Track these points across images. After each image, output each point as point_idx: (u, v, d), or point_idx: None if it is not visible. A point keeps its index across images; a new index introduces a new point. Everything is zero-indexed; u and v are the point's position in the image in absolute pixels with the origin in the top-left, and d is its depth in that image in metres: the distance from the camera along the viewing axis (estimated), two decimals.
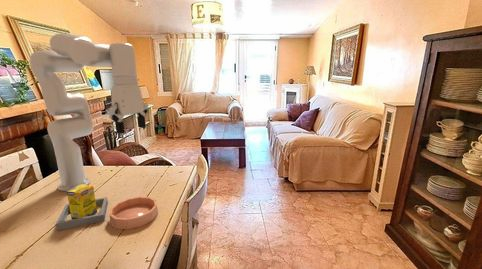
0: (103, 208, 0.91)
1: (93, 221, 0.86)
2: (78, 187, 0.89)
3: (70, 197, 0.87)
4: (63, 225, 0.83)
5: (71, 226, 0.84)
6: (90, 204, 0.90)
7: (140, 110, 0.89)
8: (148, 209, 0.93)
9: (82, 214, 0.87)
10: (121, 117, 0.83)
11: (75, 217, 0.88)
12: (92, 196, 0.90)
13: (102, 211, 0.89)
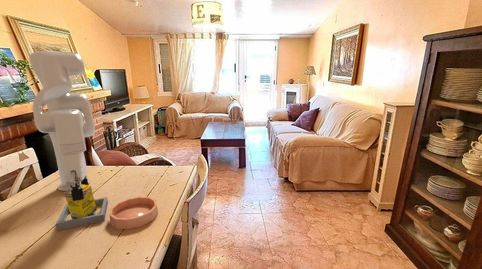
0: (103, 208, 0.91)
1: (93, 221, 0.86)
2: None
3: (68, 198, 0.85)
4: (63, 225, 0.83)
5: (71, 226, 0.84)
6: (89, 204, 0.89)
7: (86, 172, 0.90)
8: (148, 209, 0.93)
9: (82, 214, 0.87)
10: (80, 183, 0.83)
11: (75, 217, 0.88)
12: (90, 196, 0.89)
13: (102, 211, 0.89)
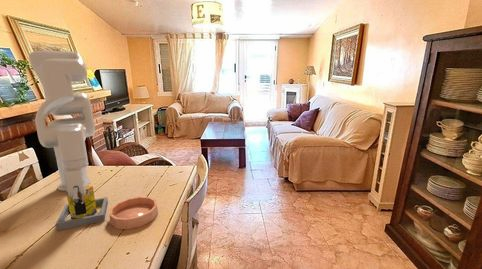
0: (103, 208, 0.91)
1: (93, 221, 0.86)
2: None
3: None
4: (63, 225, 0.83)
5: (71, 226, 0.84)
6: (89, 204, 0.90)
7: None
8: (148, 209, 0.93)
9: (82, 214, 0.87)
10: (83, 198, 0.86)
11: (75, 217, 0.88)
12: (91, 196, 0.90)
13: (102, 211, 0.89)
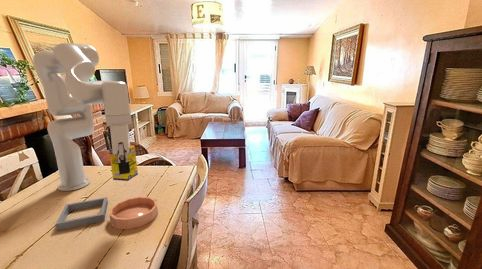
0: (103, 208, 0.91)
1: (93, 221, 0.86)
2: None
3: (113, 156, 0.82)
4: (63, 225, 0.83)
5: (71, 226, 0.84)
6: (132, 165, 0.85)
7: None
8: (148, 209, 0.93)
9: (125, 174, 0.83)
10: (127, 157, 0.81)
11: (117, 178, 0.84)
12: (133, 157, 0.86)
13: (102, 211, 0.89)
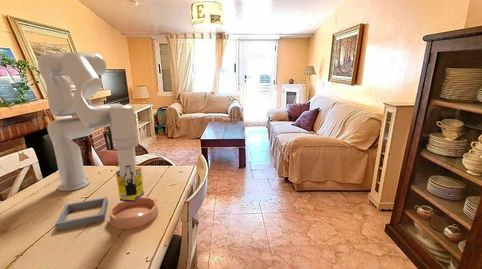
0: (103, 208, 0.91)
1: (93, 221, 0.86)
2: None
3: (120, 178, 0.84)
4: (63, 225, 0.83)
5: (71, 226, 0.84)
6: (138, 186, 0.87)
7: None
8: (148, 209, 0.93)
9: (132, 195, 0.85)
10: None
11: (124, 199, 0.86)
12: (140, 178, 0.88)
13: (102, 211, 0.89)
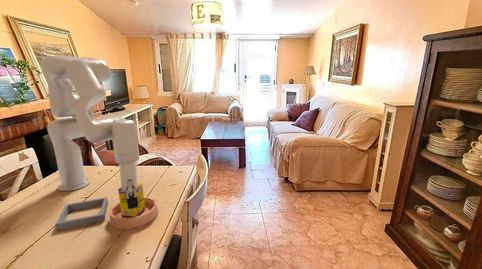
0: (103, 208, 0.91)
1: (93, 221, 0.86)
2: None
3: (122, 195, 0.86)
4: (63, 225, 0.83)
5: (71, 226, 0.84)
6: (140, 202, 0.89)
7: None
8: (148, 209, 0.93)
9: (133, 212, 0.87)
10: (135, 192, 0.84)
11: (126, 215, 0.88)
12: (141, 194, 0.90)
13: (102, 211, 0.89)
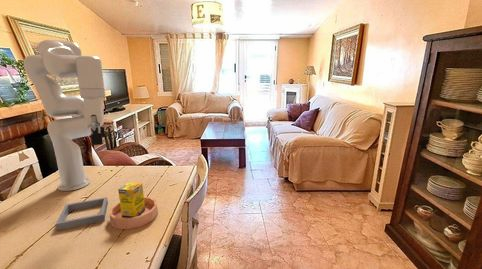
0: (103, 208, 0.91)
1: (93, 221, 0.86)
2: (129, 185, 0.88)
3: (122, 195, 0.86)
4: (63, 225, 0.83)
5: (71, 226, 0.84)
6: (140, 202, 0.89)
7: None
8: (148, 209, 0.93)
9: (133, 212, 0.87)
10: (100, 128, 0.85)
11: (126, 215, 0.88)
12: (141, 194, 0.90)
13: (102, 211, 0.89)
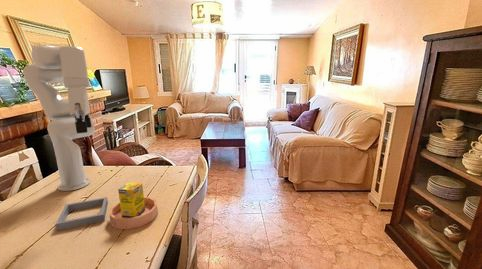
0: (103, 208, 0.91)
1: (93, 221, 0.86)
2: (129, 185, 0.88)
3: (122, 195, 0.86)
4: (63, 225, 0.83)
5: (71, 226, 0.84)
6: (140, 202, 0.89)
7: (89, 110, 0.94)
8: (148, 209, 0.93)
9: (133, 212, 0.87)
10: (84, 117, 0.87)
11: (126, 215, 0.88)
12: (141, 194, 0.90)
13: (102, 211, 0.89)
